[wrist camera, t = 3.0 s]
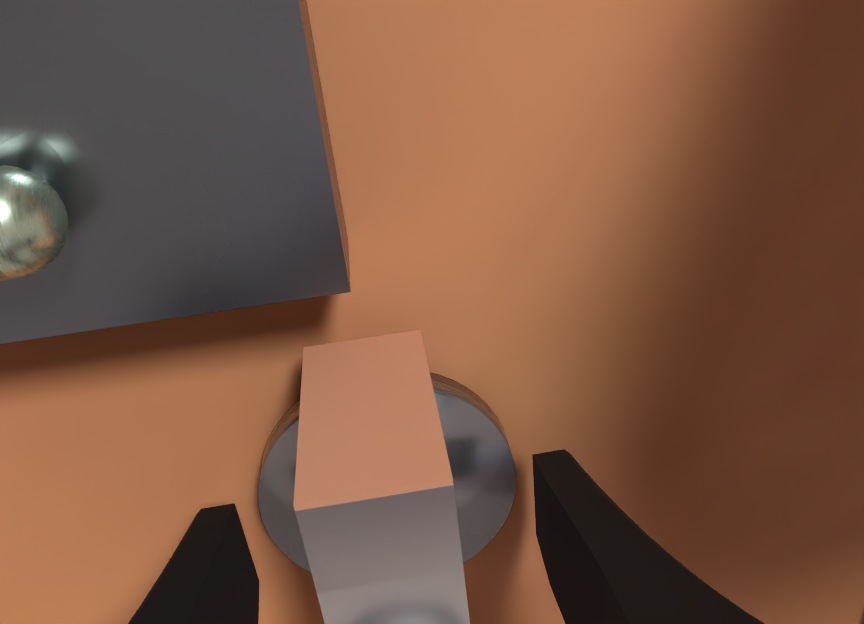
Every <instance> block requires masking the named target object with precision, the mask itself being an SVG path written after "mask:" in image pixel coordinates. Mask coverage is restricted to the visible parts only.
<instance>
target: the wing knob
mask: <svg viewBox="0 0 864 624" xmlns="http://www.w3.org/2000/svg"><path fill="white" fill-rule="evenodd" d="M515 492H516V469H515V463H514V460H513V457H512V454H511V451H510V448H509V445H508V442H507V439H506V436H505V433H504V430H503V427H502V425H501V424H500V422H499V420H498V418H497V416H496V415H495V414H494V412H493V411H492V410H491V408H490V407H489V406H488V405H487V404H486V403H485V402H484V401H483V400H482V399H481V398H480V397H479V396H478V395H477V394H475V393H474V392H472V391H471V390H470V389H468V388H467V387H465V386H463V385H461V384H459V383H458V382H456V381H454V380H452V379H449V378H446V377H444V376H441V375H438V374H435V373H430V372H429V367H428V362H427V358H426V353H425V349H424V344H423V339H422V335H421V330H413V331H407V332H400V333H394V334H387V335H381V336H374V337H367V338H361V339H354V340H348V341H341V342H335V343H328V344H322V345H315V346H308V347H304V348H303V364H302V379H301V395H300V400H299V401H298V402H297V403H295V404H294V405H293V406H292V407H291V408H290V409H289V410H288V411H287V412H286V413H285V414H284V415H283V416H282V418H281V419H280V421H279V422H278V423H277V425H276V426H275V428H274V429H273V431H272V433H271V435H270V437H269V439H268V441H267V444H266V447H265V450H264V453H263V459H262V466H261V474H260V482H259V489H258V503H259V509H260V514H261V518H262V521H263V524H264V526H265V529H266V531H267V532H268V534H269V536H270V537H271V539H272V541H273V542H274V543H275V544H276V546H277V547H278V548H279V549H280V550H281V552H283V553H284V554H285V555H286V556H287V557H288V558H289V559H290V560H291V561H293V562H294V563H296V564H297V565H299V566H300V567H302V568H303V569H305V570H307V571H309V572H311V574H312V577H313V581H314V585H315V589H316V593H317V596H318V600H319V604H320V608H321V611H322V615H323V619H324V623H325V624H470V619H469V611H468V602H467V594H466V585H465V577H464V568H463V563H465V562H466V561H468V560H469V559H470V558H472V557H473V556H475V555H476V554H477V553H478V552H479V551H481V550H482V549H483V548H484V547H485V546H486V545H487V544H488V543H489V542H490V541H491V540H492V539H493V538H494V537H495V536H496V534H497V533H498V531H499V530H500V529H501V527H502V526H503V524H504V522H505V520H506V519H507V517H508V515H509V513H510V510H511V507H512V504H513V502H514V497H515Z"/></svg>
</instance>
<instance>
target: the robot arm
mask: <svg viewBox="0 0 864 624" xmlns="http://www.w3.org/2000/svg"><path fill="white" fill-rule="evenodd" d="M533 475H534V496H535V517H536V535H537V538H538V542H539V546H540V550H541V553H542V557H543V561H544V564H545V568H546V572H547V575H548V579H549V582H550V585H551V588H552V591H553V593H554V596H555V598H556V601H557V603H558V606H559V608H560V611H561V613H562V616H563V618H564V621H565V624H764V623H763V622H761V621H759V620H758V619H756V618H755V617H753V616H751V615H750V614H748V613H747V612H745V611H744V610H742V609H741V608H739V607H738V606H737V605H735V604H734V603H732V602H731V601H729V600H728V599H727V598H725V597H724V596H722V595H721V594H719V593H718V592H717V591H715V590H714V589H713V588H711V587H710V586H709V585H707V584H706V583H705V582H703V581H702V580H701V579H699V578H698V577H697V576H696V575H694V574H693V573H692V572H690V571H689V570H688V569H687V568H686V567H684V566H683V565H682V564H681V563H679V562H678V561H677V560H676V559H675V558H673V557H672V556H671V555H670V554H669V553H668V552H666V551H665V550H664V549H663V548H662V547H661V546H660V545H658V544H657V543H656V542H655V541H654V540H653V539H652V538H651V537H649V536H648V535H647V534H646V533H645V532H644V531H643V530H642V529H641V528H640V527H639V526H638V525H637V524H636V523H635V522H634V521H633V520H632V519H630V518H629V517H628V516H627V515H626V514H625V513H624V512H623V511H622V510H621V509H620V508H619V507H618V506H617V505H616V504H615V503H614V502H613V501H612V500H611V499H610V498H609V497H608V496H607V495H606V493H605V492H604V491H603V490H602V489H601V488H600V487H599V486H598V485H597V484H596V483H595V482H594V481H593V479H592V478H591V477H590V476H589V475H588V474H587V473H586V472H585V471H584V469H583V468H582V467H581V466H580V465H579V464H578V462H577V461H576V460H575V459H574V458H573V456H572V455H571V454H570V453H569V452H567V451H566V450H558V451H552V452H546V453H540V454H534V455H533ZM258 613H259V579H258V576H257V573H256V570H255V566H254V563H253V560H252V557H251V554H250V551H249V548H248V544H247V541H246V538H245V535H244V532H243V529H242V525H241V522H240V519H239V516H238V513H237V510H236V507H235V503H234V504H228V505H222V506H216V507H210V508H204V509H201V510H200V511H199V512H198V514H197V515H196V516H195V518H194V520H193V522H192V523H191V525H190V527H189V528H188V530H187V532H186V533H185V535H184V537H183V539H182V540H181V542H180V544H179V545H178V547H177V549H176V550H175V552H174V554H173V555H172V557H171V559H170V560H169V562H168V563H167V565H166V567H165V568H164V570H163V572H162V573H161V575H160V576H159V578H158V579H157V581H156V582H155V584H154V586H153V587H152V589H151V590H150V592H149V593H148V595H147V596H146V598H145V599H144V601H143V602H142V604H141V606H140V607H139V609H138V610H137V611H136V613H135V614H134V616H133V617H132V619H131V620H130V621H129V623H128V624H258Z"/></svg>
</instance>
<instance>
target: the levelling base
mask: <svg viewBox="0 0 864 624" xmlns="http://www.w3.org/2000/svg"><path fill="white" fill-rule="evenodd" d="M347 292H351V291H350V271H349V252H348V238H347V232H346V227H345V221H344V215H343V209H342V204H341V198H340V192H339V186H338V181H337V175H336V169H335V164H334V158H333V152H332V146H331V141H330V135H329V129H328V123H327V118H326V112H325V106H324V100H323V95H322V89H321V83H320V77H319V72H318V66H317V60H316V55H315V49H314V43H313V37H312V32H311V26H310V20H309V14H308V9H307V3H306V0H0V344H4V343H11V342H18V341H24V340H31V339H38V338H45V337H51V336H58V335H65V334H71V333H78V332H85V331H92V330H98V329H105V328H112V327H118V326H125V325H132V324H139V323H145V322H152V321H159V320H166V319H172V318H179V317H186V316H192V315H199V314H206V313H213V312H219V311H226V310H233V309H239V308H246V307H253V306H260V305H266V304H273V303H280V302H287V301H293V300H300V299H307V298H313V297H320V296H327V295H334V294H340V293H347Z"/></svg>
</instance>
